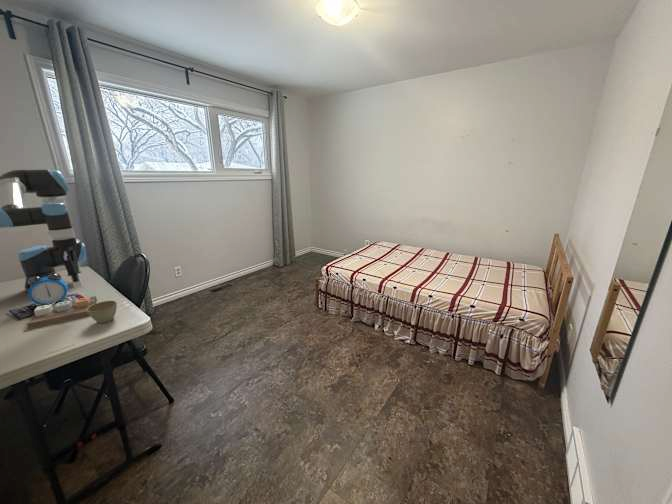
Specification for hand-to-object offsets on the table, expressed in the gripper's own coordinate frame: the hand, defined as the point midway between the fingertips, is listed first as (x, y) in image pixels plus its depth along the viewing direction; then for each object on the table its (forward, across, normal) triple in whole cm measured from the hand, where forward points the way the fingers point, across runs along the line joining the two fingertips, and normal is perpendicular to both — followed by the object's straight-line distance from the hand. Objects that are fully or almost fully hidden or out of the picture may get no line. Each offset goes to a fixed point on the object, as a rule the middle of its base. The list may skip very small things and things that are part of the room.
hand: (78, 287), depth 125 cm
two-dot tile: (+9, 0, -7) cm, 11 cm away
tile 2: (+9, 0, 0) cm, 9 cm away
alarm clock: (+11, -18, -15) cm, 26 cm away
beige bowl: (+12, +18, +9) cm, 24 cm away
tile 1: (+9, 0, -13) cm, 16 cm away
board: (+11, 0, -7) cm, 13 cm away
